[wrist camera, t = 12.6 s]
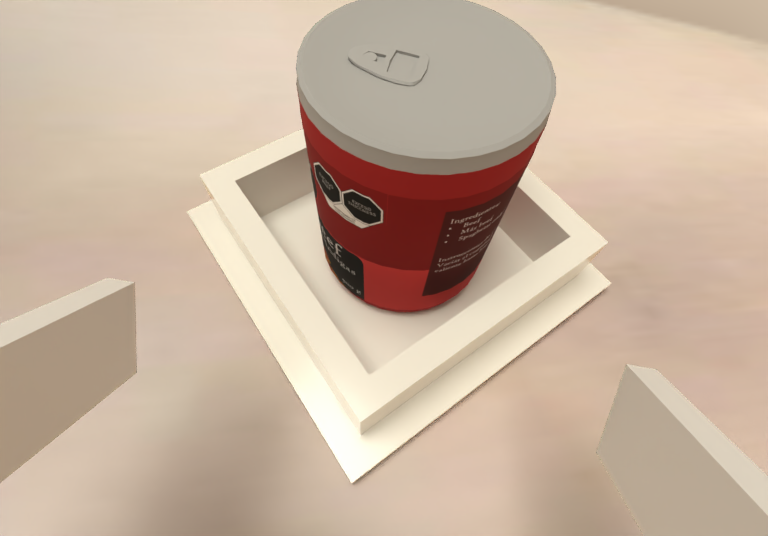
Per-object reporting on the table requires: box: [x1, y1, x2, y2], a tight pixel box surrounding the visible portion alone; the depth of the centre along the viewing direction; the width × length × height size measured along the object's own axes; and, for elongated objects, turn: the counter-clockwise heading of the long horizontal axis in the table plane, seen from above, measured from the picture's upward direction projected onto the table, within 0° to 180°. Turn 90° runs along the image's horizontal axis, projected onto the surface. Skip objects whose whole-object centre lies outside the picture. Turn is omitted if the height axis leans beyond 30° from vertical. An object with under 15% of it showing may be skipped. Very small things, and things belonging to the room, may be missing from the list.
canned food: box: [296, 0, 556, 312], centre depth 18 cm, size 8×8×11 cm
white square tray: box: [187, 129, 611, 484], centre depth 22 cm, size 16×16×4 cm
